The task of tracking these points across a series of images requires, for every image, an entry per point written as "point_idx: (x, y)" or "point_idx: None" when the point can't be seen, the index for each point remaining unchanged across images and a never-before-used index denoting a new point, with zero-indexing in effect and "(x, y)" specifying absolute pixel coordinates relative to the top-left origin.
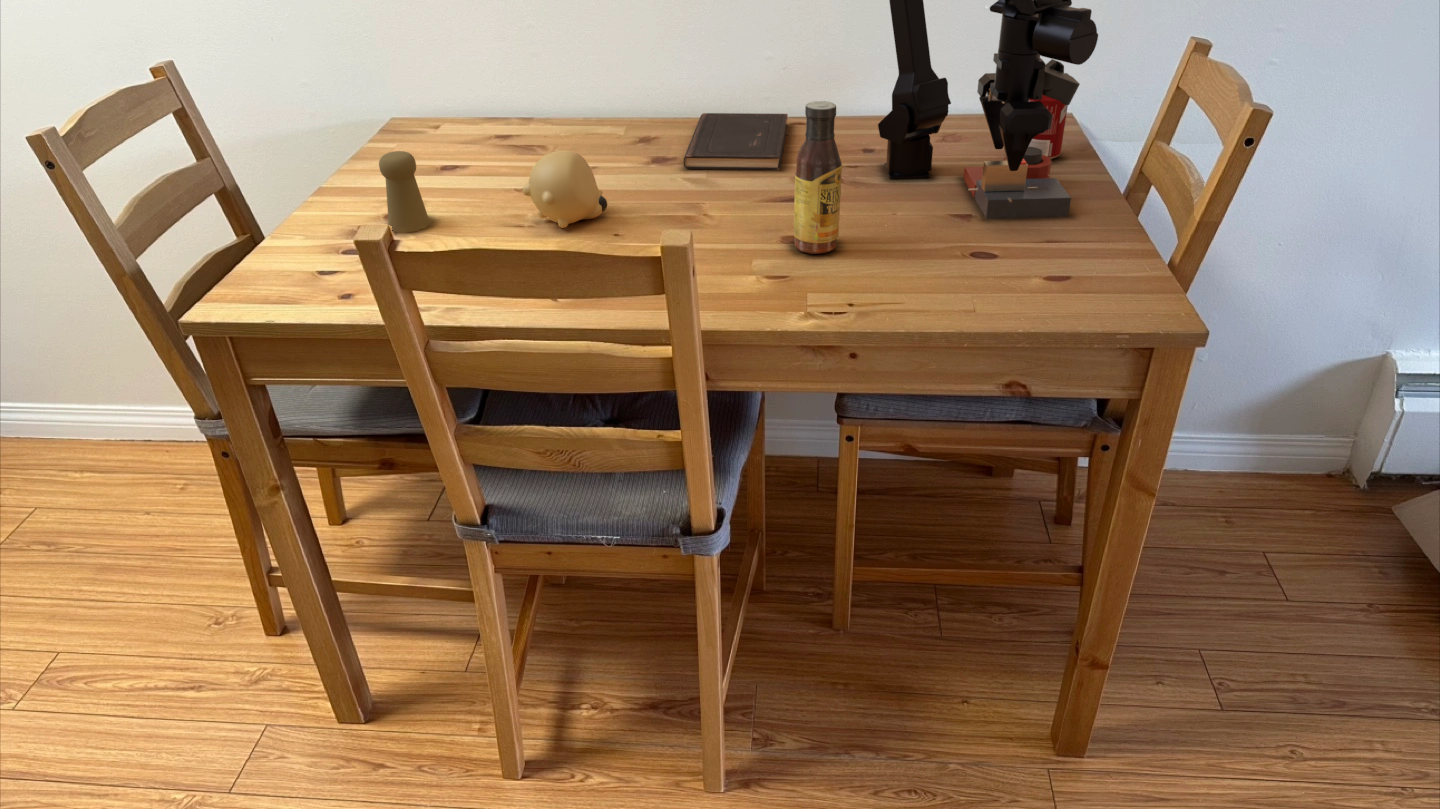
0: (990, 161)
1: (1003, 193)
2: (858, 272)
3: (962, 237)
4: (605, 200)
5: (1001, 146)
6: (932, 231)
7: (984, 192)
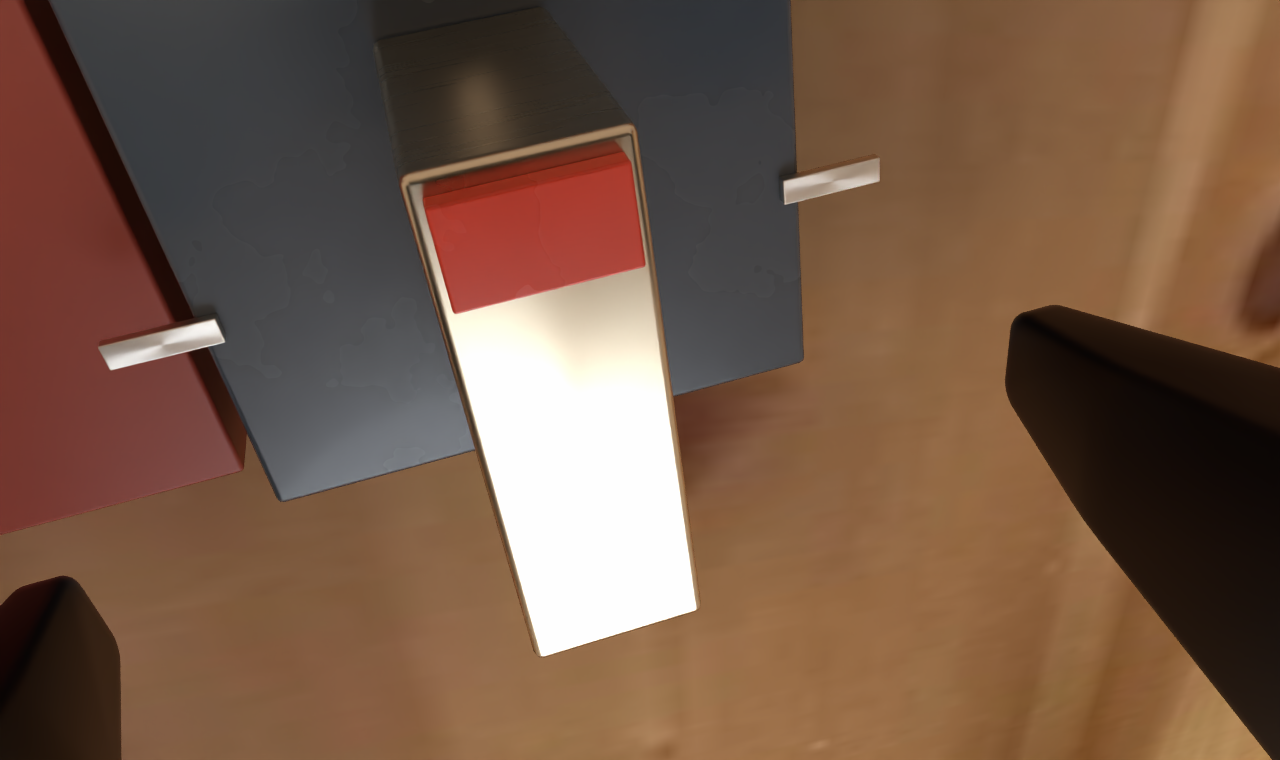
0: (547, 601)
1: None
2: None
3: None
4: None
5: (69, 616)
6: (915, 549)
7: None
